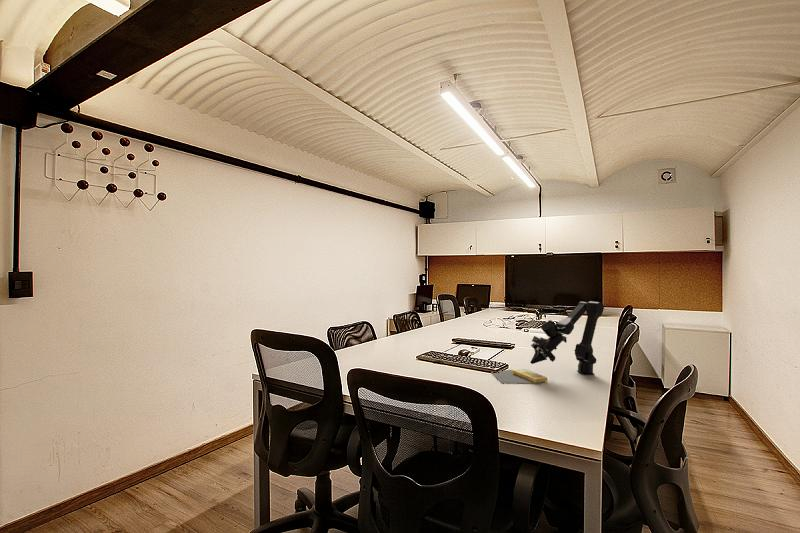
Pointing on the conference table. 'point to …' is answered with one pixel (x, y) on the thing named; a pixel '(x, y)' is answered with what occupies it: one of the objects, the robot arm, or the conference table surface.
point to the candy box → (530, 375)
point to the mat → (512, 378)
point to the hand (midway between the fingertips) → (531, 363)
